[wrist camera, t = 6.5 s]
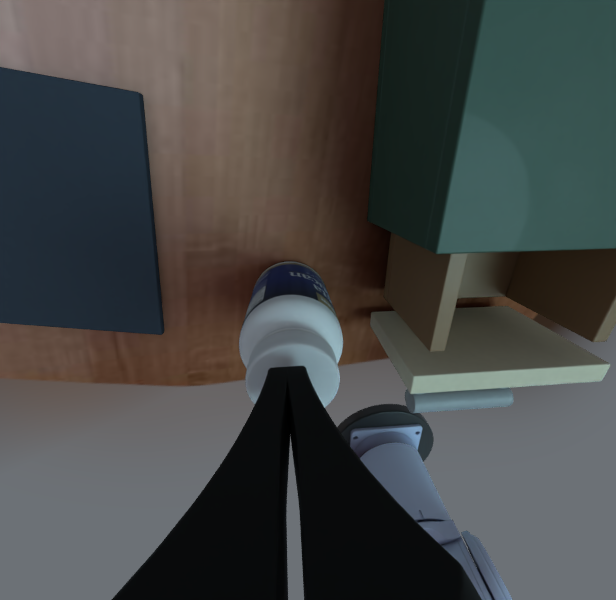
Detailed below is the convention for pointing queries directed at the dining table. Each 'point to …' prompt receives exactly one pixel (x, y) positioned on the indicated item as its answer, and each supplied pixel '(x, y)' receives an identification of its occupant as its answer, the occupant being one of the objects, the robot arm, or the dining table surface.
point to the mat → (76, 207)
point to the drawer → (492, 322)
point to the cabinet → (496, 125)
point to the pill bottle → (291, 329)
